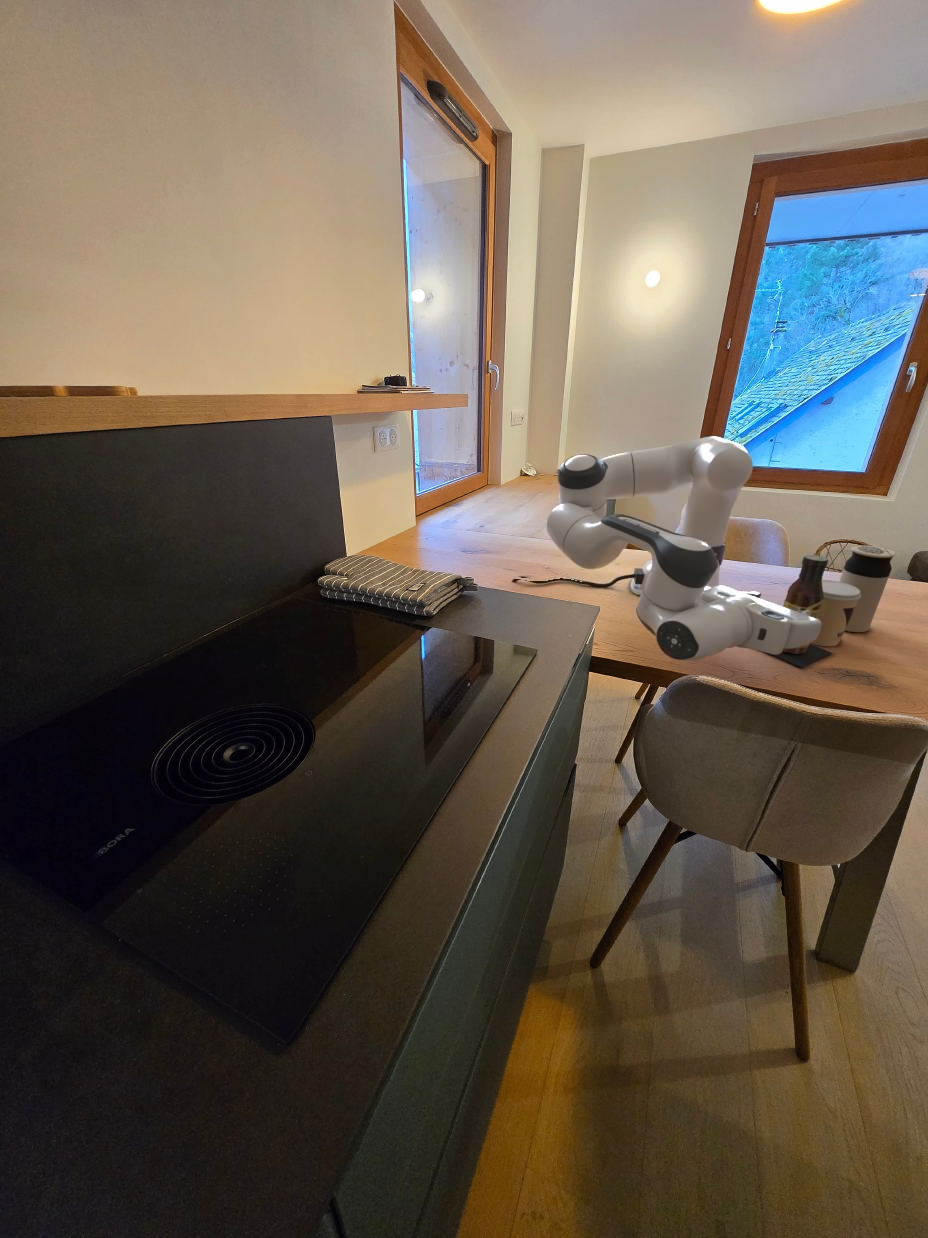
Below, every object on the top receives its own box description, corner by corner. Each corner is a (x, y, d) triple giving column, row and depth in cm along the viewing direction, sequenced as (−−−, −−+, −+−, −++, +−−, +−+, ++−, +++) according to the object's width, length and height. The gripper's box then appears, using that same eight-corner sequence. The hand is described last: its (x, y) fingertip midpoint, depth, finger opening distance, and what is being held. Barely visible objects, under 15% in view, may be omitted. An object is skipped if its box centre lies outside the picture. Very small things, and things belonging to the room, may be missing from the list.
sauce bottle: (806, 659, 99) (836, 565, 91) (770, 651, 102) (797, 560, 94) (807, 645, 104) (836, 556, 95) (773, 638, 107) (798, 550, 99)
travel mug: (825, 627, 112) (850, 552, 104) (826, 615, 118) (850, 542, 110) (869, 636, 108) (899, 558, 100) (867, 623, 114) (895, 548, 106)
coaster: (800, 668, 97) (801, 666, 97) (748, 645, 105) (748, 643, 105) (831, 654, 101) (832, 652, 101) (778, 633, 110) (779, 631, 110)
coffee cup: (844, 652, 102) (864, 599, 97) (792, 641, 107) (808, 590, 101) (842, 634, 109) (860, 584, 104) (793, 625, 114) (807, 576, 109)
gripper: (683, 614, 98) (728, 600, 104) (785, 659, 82) (831, 639, 88) (689, 585, 95) (734, 572, 101) (796, 625, 79) (843, 607, 85)
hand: (780, 604), depth 94 cm, fingers open, 8 cm apart
